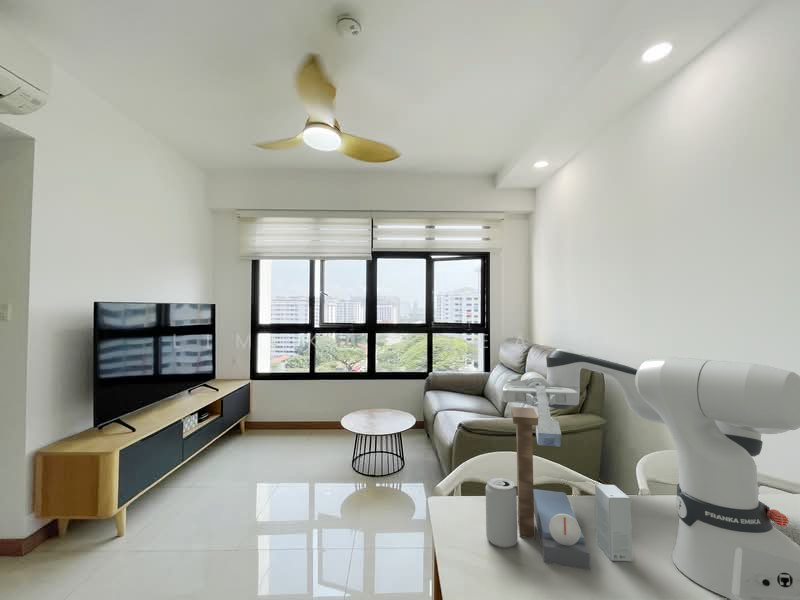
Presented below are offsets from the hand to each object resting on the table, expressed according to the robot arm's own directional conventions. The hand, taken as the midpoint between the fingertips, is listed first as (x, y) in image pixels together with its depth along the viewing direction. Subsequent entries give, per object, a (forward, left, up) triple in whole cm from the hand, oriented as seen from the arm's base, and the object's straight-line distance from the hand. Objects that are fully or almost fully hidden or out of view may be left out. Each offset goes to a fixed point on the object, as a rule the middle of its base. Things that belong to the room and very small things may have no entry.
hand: (542, 401), depth 95 cm
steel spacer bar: (0, +3, -3) cm, 4 cm away
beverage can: (+11, +22, -25) cm, 35 cm away
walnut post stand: (+6, +17, -25) cm, 31 cm away
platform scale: (-1, +16, -25) cm, 30 cm away
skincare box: (-11, +20, -25) cm, 34 cm away
